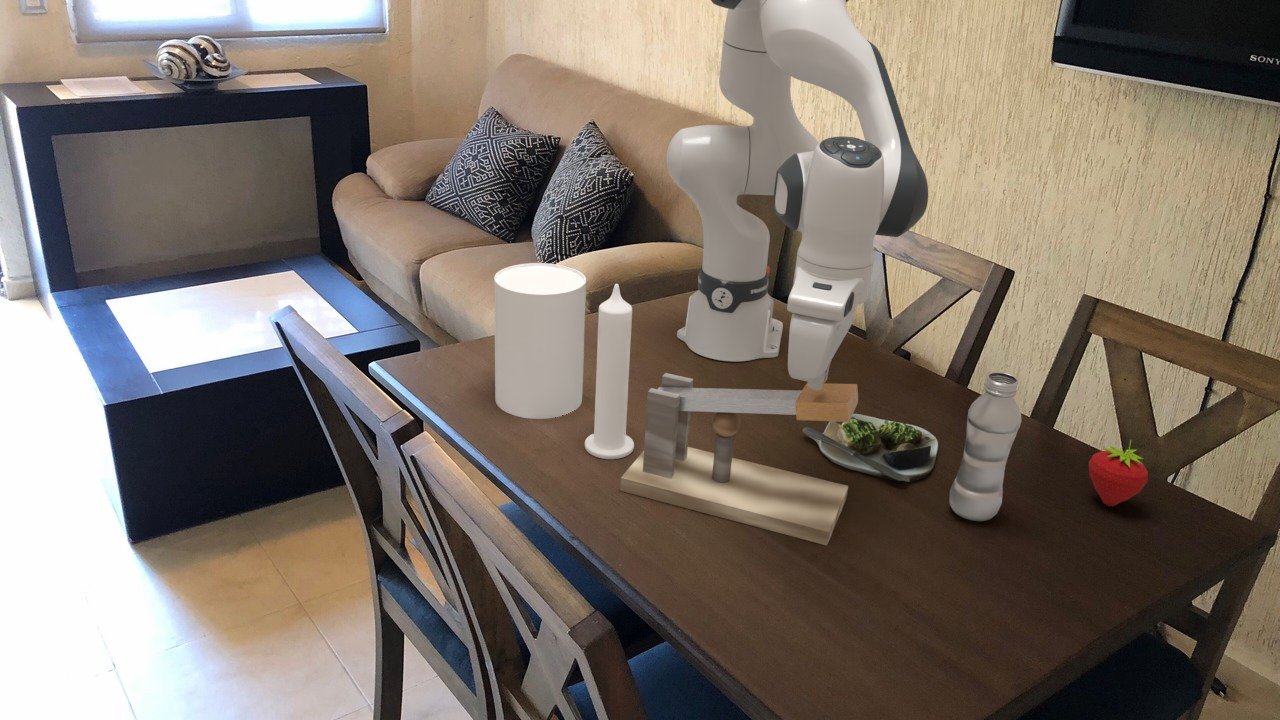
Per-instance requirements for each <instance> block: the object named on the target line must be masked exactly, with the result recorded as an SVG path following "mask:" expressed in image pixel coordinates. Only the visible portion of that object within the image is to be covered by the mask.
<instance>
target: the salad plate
mask: <svg viewBox="0 0 1280 720" xmlns="http://www.w3.org/2000/svg"><path fill="white" fill-rule="evenodd" d="M802 433H803V434H804V435H806V436H807V437H809V438H811V439H812V440H813V441H815V442H816V443H817V445H818V447H819V450H820V452H821V453H822V455H824V456H825V457H826V458H828V459H829V460H830V461H831V462H832V463H834V464H836V465H839V466H841V467H843V468H845V469H847V470H852V471H856V472H860V473H862V474H863V473H864V474H866V475H870V476H872V477H873V476H874V477H877V478H880V477H881V479H885V480H890V481H893V480H894V482H900V481H905V483H906V482H908V483H910V482H914V481H913V480H915V481H918V480H917V479H920V480H922V479H924V478H926V477H927V476H928V475H929V474H930V473H931V471H932V470H933V469H934V467H935V464H936V458H937V456H938V453H939V448H940V444H939V440H938V438H936V436H935V435H933V434H932V433H931V432H930V431H928V430H926V429H925V428H922V427H920V426H917V425H913V424H909V423H905V422H897V421H894V420H893V421H892V420H887V419H883V418H882V419H881V418H877V417H874V416H870V415H864V414H860V413H859V414H858V413H853V414H852V416H851V418H850V420H849V422H838V421H828V424H827V425H826V427H825V429H824V432H821V431H819V430H817V429H815V428H813V427H811V426H805V427H803V429H802ZM889 450H890V451H889ZM925 476H926V477H925ZM921 478H922V479H921Z"/></svg>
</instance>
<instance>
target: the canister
mask: <svg viewBox="0 0 1280 720" xmlns="http://www.w3.org/2000/svg"><path fill="white" fill-rule="evenodd" d="M493 281H494V282H493V283H494V284H493V285H494V286H493V288H494V295H493V296H494V380H495V381H494V383H495V385H494V389H495V390H494V391H495V393H494V394H495V395H494V399H495V400H494V401H495V403H496V405H497V407H498V408H499V409H500V410H502V411H504V412H505V413H507V414H510V415H511V416H512V415H513V416H516V417H519V418H523V419H532V420H544V419H545V420H546V419H547V420H548V419H555V417H556V418H559V417H563V416H562V415H564V416H566V414H567V415H569V414H571V413H573V412H575V411H576V410H577V409H579V407H580V406H581V405H582V403H583V390H584V388H583V387H584V385H583V384H584V357H585V355H584V354H585V353H584V352H585V350H584V349H585V327H586V326H585V323H586V321H585V320H586V292H587V277H586V276H585V274H583V273H582V272H581V271H579V270H577V269H575V268H573V267H569V266H565V265H562V264H557V263H556V264H555V263H546V262H529V263H528V262H527V263H520V264H515V265H511V266H508V267H507V266H506V267H505V268H502V269H501V270H498V271H497V272H496V273H495V275H494V278H493ZM574 410H575V411H574ZM572 411H573V412H572ZM570 412H571V413H570ZM568 413H569V414H568Z"/></svg>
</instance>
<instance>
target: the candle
mask: <svg viewBox="0 0 1280 720" xmlns="http://www.w3.org/2000/svg"><path fill="white" fill-rule="evenodd" d="M632 319H633V307H632V305H631V304H630V303H628V302H627V301H626V300H625V299H623V297H622V295H621V290H620V286H619V284H618V283H615V284H614V286H613V289H612V293H611V296H610V297H609V298H608V299H607V300H605V301H603V302H601V303H600V304H599V306H598V324H597V325H598V326H597V346H596V347H597V349H596V350H597V351H596V353H597V354H596V374H595V379H596V380H595V401H594V431H593V432H594V433H591V434H590V435H588V437H586V438H585V441H584V448H585V451H586V452H587V453H588V454H590V455H591V456H593V457H595V458H600V459H604V460H618V459H622V458H625V457H629V455H631V453H632V452H633V451H634V449H635V443H634V440H633V439H632V438H631V437H630V436H629V435H627V434H626V433H627V419H628V418H627V414H628V400H629V399H628V397H629V378H630V376H629V375H630V359H631V358H630V356H631V343H632V342H631V339H632V324H633V323H632V322H633V321H632Z"/></svg>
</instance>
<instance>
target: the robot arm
mask: <svg viewBox="0 0 1280 720" xmlns="http://www.w3.org/2000/svg"><path fill="white" fill-rule="evenodd" d="M710 1H711V2H712V4H713V5H715V6H718V7H720V8H725V9H727V12H726V17H725V24H724V30H723V39H722V46H721V47H722V49H721V58H720V66H719V67H720V68H719V79H718V84H719V89H720V91H721V94H722V95H723V96H724V98H725V99H726V100H727V101H728V102H729V103H731V104H732V105H733V106H735V107H737V108H738V109H740V110H742V111H744V112H746V113H747V114H748V115H750V116H751V117H752V118H753V122H752V124H751V125H747V126H741V125H739V126H737V125H722V124H721V125H719V124H703V125H695V126H690V127H684V128H681V129H680V130H678V131H677V132H676V133H675V134H674V136H673V137H672V138H671V140H670V142H669V144H668V147H667V151H666V156H665V157H666V158H665V160H666V167H667V171H668V174H669V176H670V178H671V179H672V181H673V183H674V184H675V185H677V187H679V189H681V190H682V191H683V192H684V193H685V194H686V195H687V196H688V197H689V198H690V200H691V201H692V202H693V203H694V205H695V207H696V209H697V211H698V212H699V216H700V218H701V219H700V220H701V223H702V229H703V230H702V231H703V234H702V235H703V251H702V252H703V253H702V254H703V255H702V264H701V265H702V266H700V268H699V273H698V275H697V282H698V283H697V288H698V290H697V291H695V292H694V293H692V294H691V295H690V296H689V299H688V305H687V313H686V320H685V326H683V327H682V328H680V329H678V330H677V332H676V337H677V338H678V339H680V340H681V341H683V342H684V343H685V345H687V347H688V348H689V349H690V350H691V351H692V352H693V353H695V354H697V355H700V356H702V357H704V358H708V359H713V360H715V361H716V360H717V361H722V362H746V361H747V362H748V361H753V360H756V359H757V360H758V359H764V358H765V359H767V358H769V359H770V358H777V357H778V356H779V353H780V349H781V344H782V343H781V341H782V335H783V331H784V324H783V323H784V322H783V321H780V320H778V319H776V318H773V314H774V299H773V298H772V297H771V295H770V294H769V293H768V290H769V278H768V277H769V276H770V271H771V268H770V266H769V265H768V258H769V249H770V239H771V237H770V235H771V234H770V231H769V227H768V226H767V225H766V224H765V222H764V221H763V220H762V219H761V218H759V217H758V216H756V215H754V214H753V213H751V212H750V211H747V210H746V209H743V207H741V206H739V204H738V202H737V201H738V196H741V195H756V196H757V195H759V196H760V195H761V196H773V198H772V199H773V200H772V210H773V213H774V215H776V216H777V218H778V219H779V220H780V221H781V222H782V223H784V225H786V227H788V228H789V229H790V230H792V231H794V232H795V231H798V232H799V233H801V242H800V243H799V245H798V249H797V254H796V261H795V267H794V268H795V269H794V273H793V274H794V275H793V281H792V282H793V283H792V287H791V289H790V291H789V295H788V299H787V305H786V307H787V308H786V310H787V312H789V313H792V315H791V319H790V322H789V323H790V324H789V332H788V333H789V335H788V338H789V339H788V351H787V352H788V353H787V371H788V374H789V377H791V378H792V379H795V380H798V381H803V382H807V383H808V387H809V388H810V389H814V390H821V389H822V387H823V385H824V383H826V381H827V380H828V375H829V369H830V366H831V364H832V363H831V362H832V359H833V358H834V356H835V354H836V353H837V351H838V349H839V348H840V346H841V344H842V342H843V341H844V338H845V337H846V335H847V334H848V332H849V330H850V329H851V327H852V324H853V321H854V316H855V310H856V308H857V306H859V305H861V304H864V303H865V302H866V301H867V300H868V298H869V292H870V288H871V287H870V286H871V281H872V280H871V279H872V274H873V267H874V261H875V253H874V240H875V236H883V237H892V238H898V237H900V236H902V235H904V234H905V233H907V232H908V231H909V230H910V229H912V228H913V227H914V226H915V225H916V224H917V223H918V222H919V221H920V220H921V218H923V216H924V214H925V213H926V210H927V208H928V202H929V186H928V181H927V177H926V174H925V171H924V168H923V167H922V164H921V163H920V161H919V159H918V157H917V156H916V155H917V154H915V152H914V149H913V147H912V146H913V145H912V144H911V142H910V139H909V135H908V132H907V129H906V126H905V121H904V119H903V117H902V113H901V110H900V109H901V108H900V107H899V103H898V100H897V97H896V94H895V91H894V87H893V85H892V82H891V79H890V75H889V73H888V70H887V67H886V65H885V64H886V63H885V62H884V59H883V57H882V55H881V53H880V50H879V49H878V48H877V46H876V44H875V45H874V44H873V43H872V42H871V41H869V40H867V39H866V37H865V36H864V35H863V34H862V33H861V32H860V31H859V29H858V28H857V26H856V24H855V23H854V21H853V19H852V18H851V15H850V13H849V10H848V8H847V7H848V6H847V3H848V2H849V1H850V0H710ZM792 78H794V79H797V80H799V81H802V82H805V83H808V84H810V85H814V86H816V87H819V88H821V89H825V90H827V91H828V92H830V93H832V94H835V95H837V96H838V97H840V98H842V99H843V100H845V101H846V102H847V103H848V104H850V106H852V108H853V109H854V111H855V112H856V115H857V117H858V121H859V124H860V127H861V131H862V133H863V137H864V140H863V139H860V138H859V137H853V136H841V135H840V136H832V137H827V138H825V139H823V140H821V141H820V142H819V141H818V139H817V138H816V137H815V136H814V134H812V133H811V132H810V131H809V130H807V128H805V126H804V125H803V124H802V122H801V121H800V119H799V118H798V116H797V114H796V112H795V109H794V105H793V102H792V95H791V93H792V92H791V85H792V84H791V83H792Z"/></svg>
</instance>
